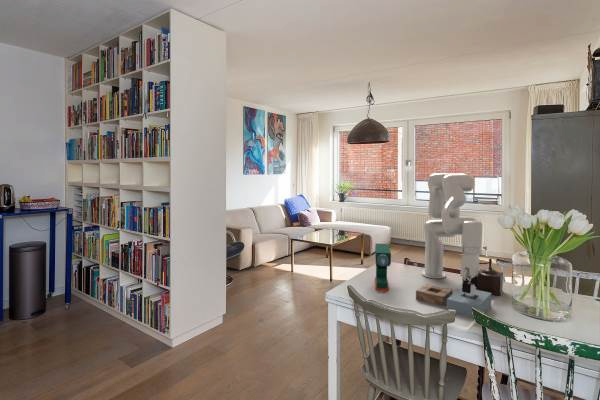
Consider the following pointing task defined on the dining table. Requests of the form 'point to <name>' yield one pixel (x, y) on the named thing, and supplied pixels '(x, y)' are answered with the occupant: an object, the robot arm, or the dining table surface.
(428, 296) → the socket block
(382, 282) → the power tool
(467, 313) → the slotted box
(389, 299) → the dining table surface
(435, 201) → the robot arm
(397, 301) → the dining table surface
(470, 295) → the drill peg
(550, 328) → the dining table surface
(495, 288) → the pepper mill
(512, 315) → the dining table surface
